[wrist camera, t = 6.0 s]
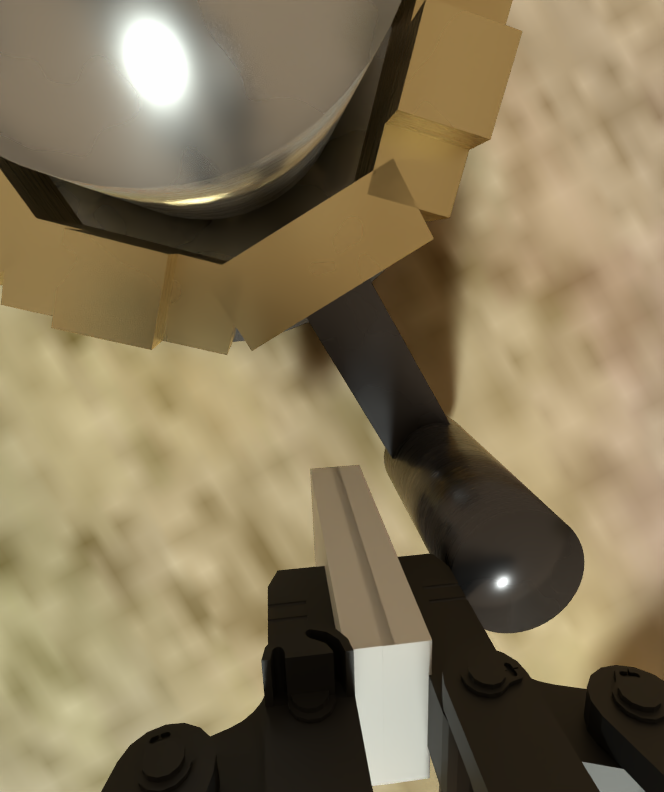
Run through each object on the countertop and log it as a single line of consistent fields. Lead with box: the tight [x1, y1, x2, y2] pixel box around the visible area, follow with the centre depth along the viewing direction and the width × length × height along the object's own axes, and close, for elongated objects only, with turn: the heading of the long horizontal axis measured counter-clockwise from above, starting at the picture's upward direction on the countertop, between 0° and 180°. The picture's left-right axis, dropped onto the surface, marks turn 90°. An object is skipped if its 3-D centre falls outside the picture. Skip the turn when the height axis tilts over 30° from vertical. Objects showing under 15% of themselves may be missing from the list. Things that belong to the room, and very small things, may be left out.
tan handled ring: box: [0, 0, 584, 633], centre depth 11 cm, size 21×14×7 cm, turn 31°
